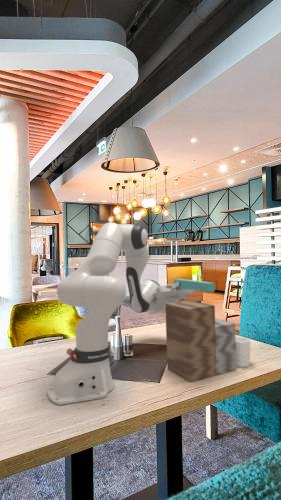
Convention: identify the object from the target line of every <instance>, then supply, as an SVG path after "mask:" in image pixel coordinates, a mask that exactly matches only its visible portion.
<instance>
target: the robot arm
mask: <svg viewBox="0 0 281 500" xmlns="http://www.w3.org/2000/svg"><path fill="white" fill-rule="evenodd" d="M148 234H149V233H148V231H147V228H146V227H145V226H144V225H143V224H137V223H135V224H131V223H130V224H127V223H125V224H122V223H115V222H111V221H110V222H105V223H104V224H103V225H102V226H101V227H100V228H99V230H98V231H97V234H96V235H95V238H94V240H93V242H92V244H91V247H90V249H89V252H88V253H87V255H86V258H85V259H84V261H83V262H82V263H81V264H80V265H79V266H78V267H77V268H76V269H75V270H74V271H73V272H72V273H70V274H69V275H67V276H65V277H62V278H61V280H59V282H58V285H57V287H56V297H57V299H58V300H59V302H60V303H61V304H64V305H67V306H70V307H75V308H76V307H78V308H81V307H82V308H88V313H87V316H86V317H84V318H82V319H81V320H80V321H79V322H78V323H77V324H76V326H75V348H74V349H72V348H68V349H67V350H66V354H67V355H68V356H70V360H69V361H68V362H67V363H66V364H65V365H64V366H62V367H61V368H60V369H59V370H57V372H56V374H55V376H54V382H53V385H51V386H49V387H48V388H47V390H46V391H47V393H46V394H47V395H46V396H47V397H48V399H49V401H51V402H52V403H53V404H55V405H57V406H58V405H60V406H61V405H68V404H74V403H80V402H81V403H82V402H85V401H86V402H87V401H92V400H99V399H104V398H106V397H107V396H108V393H109V392H112V390H113V389H114V388H115V384H114V380H113V378H112V372H111V365H110V361H111V351H110V345H109V325H110V320H111V317H112V315H113V313H114V312H115V311H116V310H117V309H118V308H119V307H120V306H121V305H122V304H123V303H124V301H125V299H126V295H127V288H126V285H125V282H124V281H123V280H122V279H121V278H118V277H115V276H110V274H111V273H112V272H114V270H115V269H116V267H117V264H118V261H119V258H120V253H121V251H123V254H124V256H125V264H126V265H125V277H126V283H127V287H128V293H129V300H128V302H129V305H130V308H131V309H132V310H133V312H136V313H137V314H142V313H146V312H148V311H149V310H150V311H151V312H152V313H154V314H159V313H162V312H164V311H166V303H174V302H182V301H186V300H187V299H188V298H187V297H188V296H190V295H191V294H193V293H194V292H195V291H196V290H192V289H185V288H179V286H180V285H181V283H180V282H176V283H175V284H174V283H173V284H172V283H171V284H162V285H161V284H159V283H158V282H157V281H155V280H154V279H144V280H143V282H142V283H141V278H142V276H143V275H142V274H143V272H144V271H145V268H146V267H147V265H148V262H149V259H150V253H149V248H148V245H147V244H148V239H149V236H148Z"/></svg>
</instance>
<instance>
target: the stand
mask: <svg viewBox="0 0 281 500" xmlns="http://www.w3.org/2000/svg"><path fill="white" fill-rule="evenodd" d="M215 307H216V306H215V305H214V304H209V303H204V302H198V301H194V300H182V301H178V302H174V303H166V310H165V330H166V331H165V334H166V335H165V336H166V337H165V338H166V368H167V370H168V371H170V372H171V373H173V374H175V375H177V376H178V377H180V378H182V379H183V380H185V381H187V382H188V383H193V382H197V381H201V380H204V379H208V378H209V379H210V378H213V377H215V376H219V375H222V374H226V373H231V372H233V371H236V370H237V366H236V342H235V337H236V323H235V322H230V321H226V320H222V319H220V318H216V312H215V311H216V310H215Z"/></svg>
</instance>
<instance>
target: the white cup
mask: <svg viewBox="0 0 281 500" xmlns="http://www.w3.org/2000/svg"><path fill="white" fill-rule="evenodd" d="M235 342H236V367H238V368H239V367H240V368H246V367H247V368H248V367H249V366H250V365H251V364H250V363H251V362H250V361H251V359H250V358H251V339H250V338H247V337H242V336H235Z"/></svg>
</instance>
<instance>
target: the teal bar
mask: <svg viewBox="0 0 281 500" xmlns="http://www.w3.org/2000/svg"><path fill="white" fill-rule="evenodd" d="M176 282H180V283H181V285H180V286H179V288H185V289H192V290H195V291H200V292H205V293H214V292H216V291H215V290H216V289H215V288H216V286H215V285H216V284H215V282H211V281H210V282H208V281H201V280H193V279H184V278H174V279H173V284H175V283H176Z"/></svg>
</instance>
